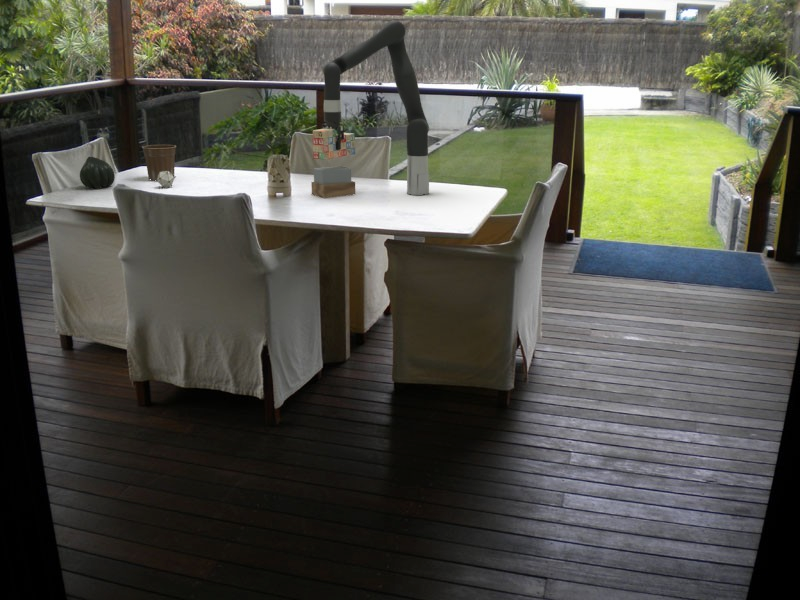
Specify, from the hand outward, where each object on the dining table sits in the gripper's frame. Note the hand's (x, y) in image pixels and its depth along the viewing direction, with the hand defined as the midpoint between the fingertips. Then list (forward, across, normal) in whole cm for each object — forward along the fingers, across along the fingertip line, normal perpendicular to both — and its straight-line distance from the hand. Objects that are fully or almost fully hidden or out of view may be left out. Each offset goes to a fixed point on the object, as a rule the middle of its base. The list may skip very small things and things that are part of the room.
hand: (333, 148), depth 373 cm
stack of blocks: (+4, 0, -1) cm, 4 cm away
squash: (+21, +82, +76) cm, 114 cm away
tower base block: (+21, 0, 0) cm, 21 cm away
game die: (+21, +63, +51) cm, 84 cm away
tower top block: (+15, 0, 0) cm, 15 cm away
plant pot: (+21, +86, +43) cm, 98 cm away
